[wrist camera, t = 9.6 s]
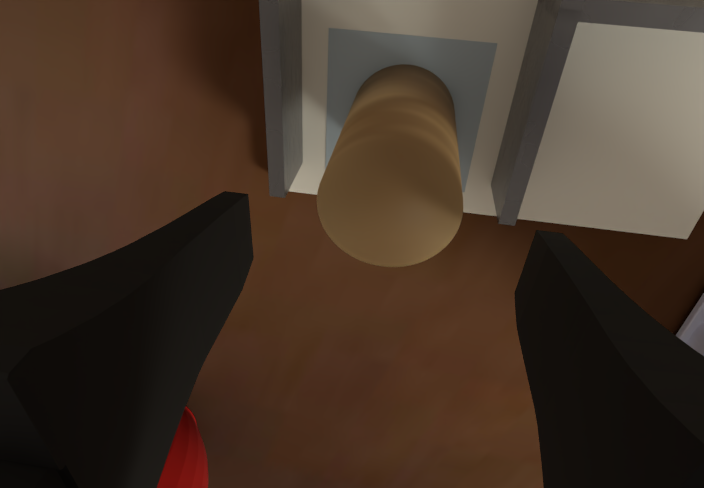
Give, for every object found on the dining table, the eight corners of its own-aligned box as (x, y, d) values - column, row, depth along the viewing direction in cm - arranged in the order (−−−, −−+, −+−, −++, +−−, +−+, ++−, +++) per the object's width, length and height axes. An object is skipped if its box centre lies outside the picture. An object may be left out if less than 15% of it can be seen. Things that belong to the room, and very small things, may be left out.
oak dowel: (463, 70, 17) (477, 150, 12) (445, 168, 20) (449, 275, 14) (355, 59, 18) (317, 132, 12) (349, 157, 20) (315, 257, 14)
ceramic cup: (282, 373, 31) (228, 539, 23) (211, 479, 41) (156, 622, 33) (87, 289, 29) (-48, 439, 21) (61, 422, 39) (-37, 559, 31)
